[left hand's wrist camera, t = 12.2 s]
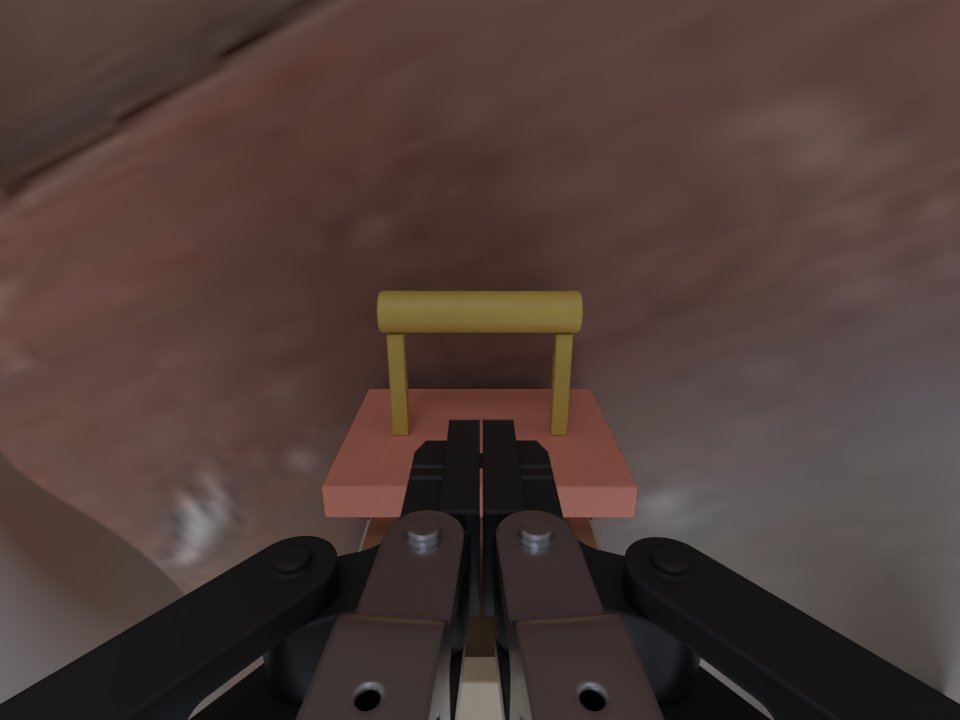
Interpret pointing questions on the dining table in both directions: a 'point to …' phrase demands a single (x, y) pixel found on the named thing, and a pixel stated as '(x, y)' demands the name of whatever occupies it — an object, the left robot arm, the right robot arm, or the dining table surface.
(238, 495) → the dining table surface
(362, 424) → the drawer
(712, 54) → the dining table surface
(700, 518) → the dining table surface
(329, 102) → the dining table surface
